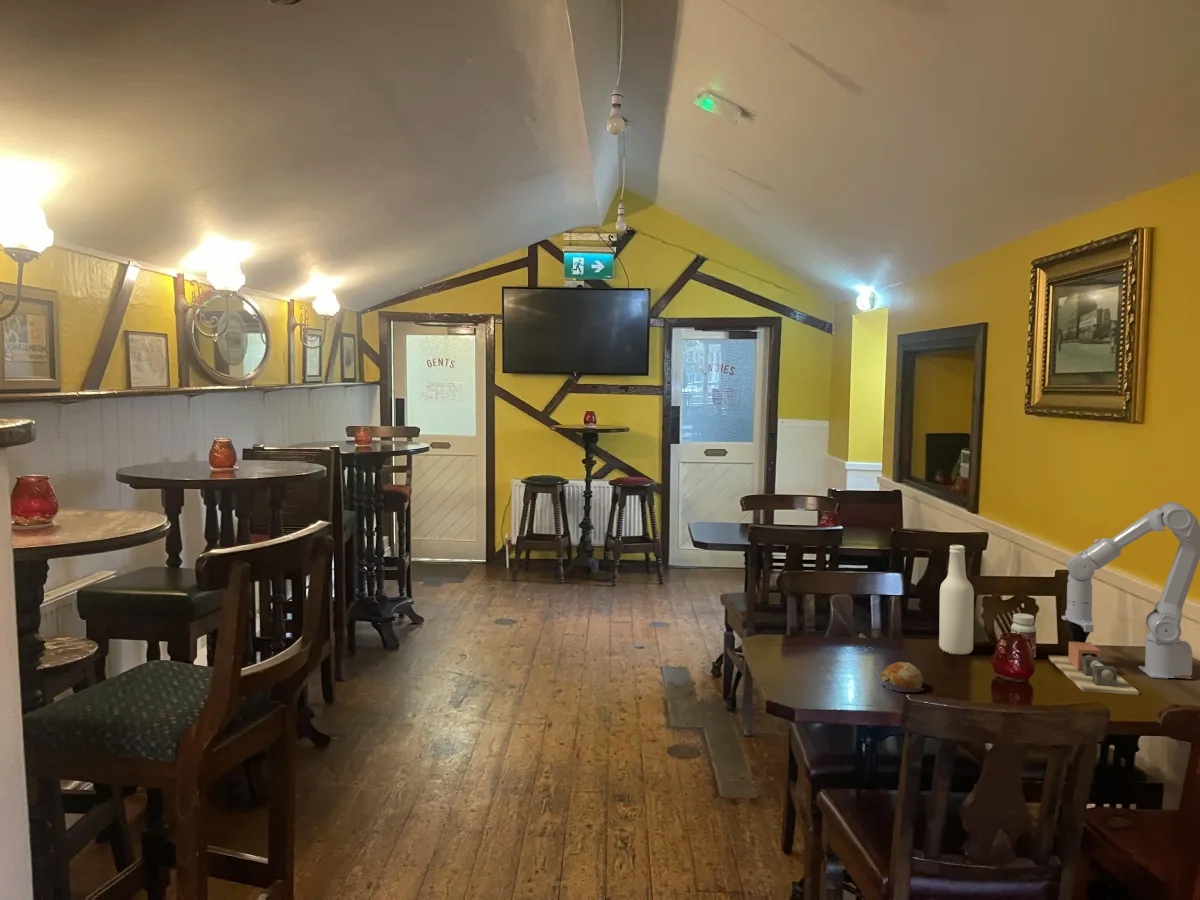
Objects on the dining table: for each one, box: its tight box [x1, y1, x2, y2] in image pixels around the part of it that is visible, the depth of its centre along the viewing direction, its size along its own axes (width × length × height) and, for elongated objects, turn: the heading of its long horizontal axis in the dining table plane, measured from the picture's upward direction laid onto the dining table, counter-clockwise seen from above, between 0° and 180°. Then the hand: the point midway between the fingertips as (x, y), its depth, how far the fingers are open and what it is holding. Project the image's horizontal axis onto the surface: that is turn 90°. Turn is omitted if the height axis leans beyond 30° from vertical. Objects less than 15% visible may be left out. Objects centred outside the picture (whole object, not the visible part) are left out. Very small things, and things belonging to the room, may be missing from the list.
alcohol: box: [938, 544, 975, 656], centre depth 227 cm, size 9×9×30 cm
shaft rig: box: [1047, 653, 1140, 696], centre depth 206 cm, size 26×12×5 cm, turn 168°
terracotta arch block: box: [1068, 641, 1102, 669], centre depth 210 cm, size 7×5×5 cm
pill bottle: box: [1010, 612, 1037, 658], centre depth 222 cm, size 6×6×11 cm
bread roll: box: [880, 661, 925, 688], centre depth 200 cm, size 10×10×8 cm
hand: (1078, 651), depth 214 cm, fingers closed
